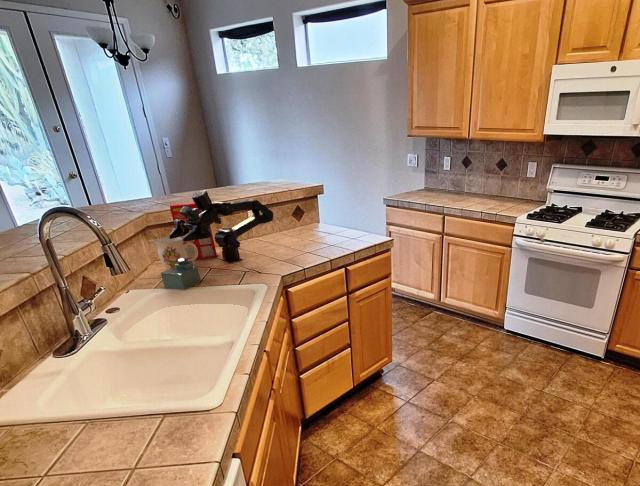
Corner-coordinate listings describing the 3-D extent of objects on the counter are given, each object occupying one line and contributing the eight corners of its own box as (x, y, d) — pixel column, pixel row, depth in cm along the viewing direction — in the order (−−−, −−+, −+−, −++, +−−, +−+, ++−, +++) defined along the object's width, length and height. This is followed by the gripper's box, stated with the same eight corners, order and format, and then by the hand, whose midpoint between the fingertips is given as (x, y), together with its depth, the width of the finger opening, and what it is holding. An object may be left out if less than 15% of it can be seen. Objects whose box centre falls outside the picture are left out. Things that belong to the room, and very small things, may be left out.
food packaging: (216, 254, 210) (204, 201, 198) (217, 256, 206) (205, 202, 194) (183, 258, 204) (169, 204, 193) (183, 261, 200) (169, 206, 189)
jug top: (184, 278, 178) (179, 259, 174) (203, 280, 176) (198, 261, 172) (164, 288, 168) (159, 268, 164) (184, 289, 166) (179, 270, 162)
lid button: (183, 262, 172) (182, 258, 171) (190, 262, 171) (189, 258, 171) (177, 265, 169) (175, 260, 168) (184, 265, 168) (183, 261, 168)
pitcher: (201, 269, 188) (193, 238, 181) (155, 275, 182) (146, 243, 175) (201, 263, 197) (194, 233, 190) (158, 268, 191) (149, 237, 184)
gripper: (181, 200, 182) (151, 219, 173) (209, 204, 173) (180, 223, 164) (194, 224, 190) (166, 243, 181) (222, 228, 181) (194, 248, 172)
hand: (176, 239), depth 174 cm, fingers open, 9 cm apart
